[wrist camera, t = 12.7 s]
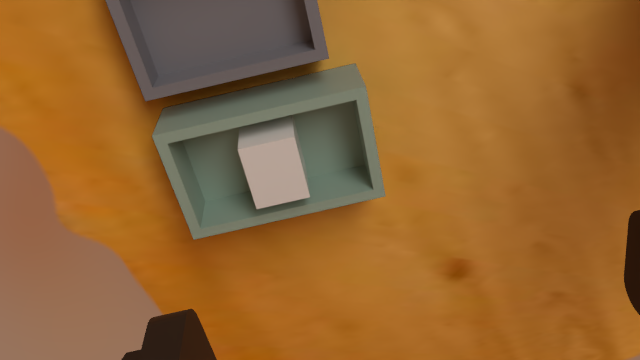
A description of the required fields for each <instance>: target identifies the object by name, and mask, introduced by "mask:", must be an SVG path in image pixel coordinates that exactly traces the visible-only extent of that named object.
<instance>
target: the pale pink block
mask: <svg viewBox="0 0 640 360" xmlns="http://www.w3.org/2000/svg"><path fill="white" fill-rule="evenodd" d="M238 153H239V156H240V159H241V162H242V165H243V168H244V171H245V175H246V178H247V181H248V184H249V187H250V190H251V193H252V196H253V199H254V203H255V206H256V209H260V208H265V207H269V206H273V205H278V204H282V203H287V202H291V201H295V200H300V199H304V198H309V197H310V193H309V186H308V179H307V172H306V165H305V161H304V157H303V153H302V149H301V145H300V141H299V137H298V133H297V129H296V126H295V122H294V118H293V115H289V116H285V117H280V118H276V119H272V120H267V121H263V122H259V123H254V124H250V125H246V126H241V127H239V139H238Z"/></svg>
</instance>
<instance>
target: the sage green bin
mask: <svg viewBox="0 0 640 360" xmlns="http://www.w3.org/2000/svg"><path fill="white" fill-rule="evenodd" d="M289 115H293V118H294V122H295V126H296V129H297V133H298V137H299V141H300V145H301V149H302V153H303V157H304V161H305V165H306V172H307V179H308V186H309V193H310V197H309V198H304V199H300V200H295V201H291V202H287V203H282V204H278V205H273V206H269V207H265V208H260V209H256V206H255V203H254V199H253V196H252V193H251V190H250V187H249V184H248V181H247V178H246V175H245V171H244V168H243V165H242V162H241V159H240V156H239V153H238V139H239V127H241V126H246V125H250V124H254V123H259V122H263V121H267V120H272V119H276V118H280V117H285V116H289ZM152 137H153V140H154V142H155V145H156V147H157V150H158V152H159V155H160V157H161V160H162V162H163V165H164V167H165V170H166V172H167V175H168V177H169V180H170V182H171V185H172V187H173V190H174V192H175V195H176V197H177V199H178V202H179V204H180V207H181V209H182V212H183V214H184V217H185V219H186V222H187V224H188V227H189V229H190V232H191V234H192V237H193V239H194V240H195V239H199V238H204V237H208V236H213V235H217V234H221V233H226V232H230V231H235V230H239V229H243V228H248V227H252V226H257V225H261V224H265V223H270V222H274V221H279V220H283V219H287V218H292V217H296V216H301V215H305V214H310V213H314V212H318V211H323V210H327V209H332V208H336V207H340V206H345V205H349V204H354V203H358V202H362V201H367V200H371V199H376V198H380V197H384V196H385V191H384V185H383V180H382V174H381V168H380V163H379V157H378V152H377V146H376V140H375V135H374V129H373V124H372V118H371V112H370V107H369V101H368V96H367V90H366V86H365V83H364V81H363V79H362V77H361V75H360V73H359V70H358V68H357V66H356V64H351V65H346V66H342V67H338V68H333V69H329V70H325V71H321V72H316V73H312V74H308V75H303V76H299V77H295V78H291V79H286V80H282V81H278V82H274V83H269V84H265V85H261V86H256V87H252V88H248V89H244V90H239V91H235V92H231V93H226V94H222V95H218V96H214V97H209V98H205V99H201V100H196V101H192V102H188V103H184V104H179V105H175V106H171V107H166V108H163V110H162V112H161V115H160V117H159V120H158V122H157V125H156V127H155V130H154V132H153V135H152Z"/></svg>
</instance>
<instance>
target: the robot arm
mask: <svg viewBox="0 0 640 360" xmlns="http://www.w3.org/2000/svg"><path fill="white" fill-rule="evenodd" d="M624 283H625V288H626V291H627V294H628V297H629V299H630V301H631V303H632V305H633V307H634V308H635V310H636V311H637V312H638V314H639V315H640V210H638V211H634V212H633V213H632V214H631V216H630V218H629V223H628V235H627V247H626V258H625V270H624ZM122 360H217V359H216V357H215V355H214V352H213V350H212V348H211V346H210V343H209V341H208V339H207V336H206V334H205V332H204V329H203V327H202V325H201V323H200V320H199V318H198V316H197V314H196V312H195V311H194V310H193V309H188V310H184V311H179V312H175V313H170V314H166V315H161V316H157V317H153V318H151V319H150V320H149V322H148V325H147V329H146V333H145V337H144V341H143V345H142V349H141V350H137V351H133V352H128V353H126V354H125V355H124V357H123V358H122Z"/></svg>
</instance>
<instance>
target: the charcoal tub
mask: <svg viewBox="0 0 640 360" xmlns="http://www.w3.org/2000/svg"><path fill="white" fill-rule="evenodd" d="M105 1H106V3H107V6H108V8H109V11H110V13H111V16H112V18H113V21H114V23H115V26H116V28H117V31H118V33H119V36H120V38H121V41H122V44H123V46H124V49H125V51H126V54H127V56H128V59H129V61H130V64H131V66H132V69H133V71H134V74H135V76H136V79H137V81H138V84H139V87H140V89H141V92H142V94H143V97H144V99H145V101H149V100H153V99H158V98H162V97H166V96H170V95H175V94H179V93H183V92H188V91H192V90H196V89H200V88H205V87H209V86H213V85H217V84H222V83H226V82H230V81H235V80H239V79H243V78H247V77H252V76H256V75H260V74H264V73H269V72H273V71H277V70H282V69H286V68H290V67H294V66H299V65H303V64H307V63H311V62H316V61H320V60H324V59H329V56H328V51H327V46H326V42H325V37H324V32H323V27H322V22H321V18H320V13H319V8H318V3H317V0H105Z"/></svg>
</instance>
